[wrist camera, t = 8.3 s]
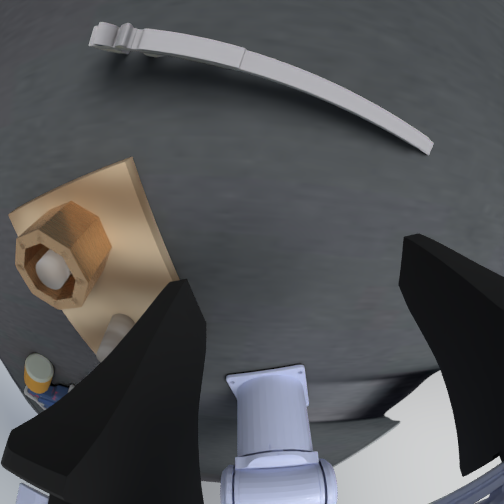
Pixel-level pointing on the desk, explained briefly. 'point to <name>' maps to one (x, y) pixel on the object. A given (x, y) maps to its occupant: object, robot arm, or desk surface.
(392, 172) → the desk surface
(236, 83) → the desk surface
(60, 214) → the ring
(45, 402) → the toy blaster gun
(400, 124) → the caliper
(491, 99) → the desk surface
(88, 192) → the wooden peg board
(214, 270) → the desk surface
